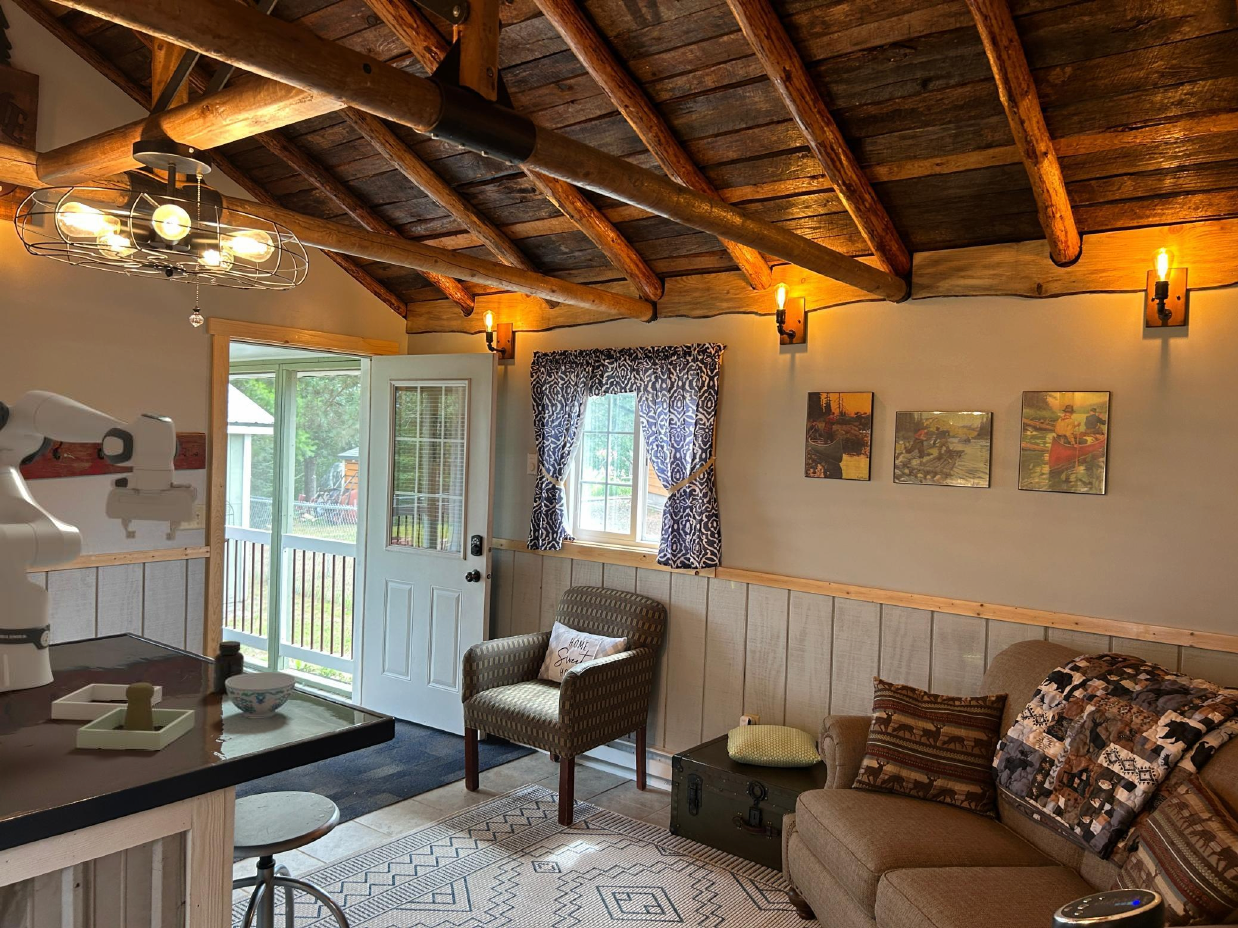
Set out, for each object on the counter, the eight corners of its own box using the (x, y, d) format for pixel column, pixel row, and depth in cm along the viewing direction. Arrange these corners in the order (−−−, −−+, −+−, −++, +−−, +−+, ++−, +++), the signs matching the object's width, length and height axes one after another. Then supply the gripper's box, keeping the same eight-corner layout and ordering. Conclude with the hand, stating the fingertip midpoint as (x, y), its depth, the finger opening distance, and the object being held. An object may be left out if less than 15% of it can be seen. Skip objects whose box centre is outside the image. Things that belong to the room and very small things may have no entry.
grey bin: (51, 718, 194) (52, 702, 194) (91, 698, 210) (92, 683, 210) (127, 721, 195) (128, 704, 195) (161, 701, 211) (162, 686, 211)
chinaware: (272, 701, 216) (274, 669, 216) (307, 714, 206) (309, 681, 206) (210, 712, 204) (212, 678, 204) (244, 727, 195) (246, 692, 195)
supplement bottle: (205, 692, 221) (208, 643, 221) (227, 686, 227) (229, 638, 227) (227, 696, 218) (229, 646, 218) (248, 690, 225) (250, 641, 224)
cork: (140, 742, 182) (143, 688, 182) (114, 739, 183) (116, 685, 183) (161, 734, 188) (163, 681, 188) (135, 731, 189) (137, 678, 189)
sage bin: (76, 747, 177) (77, 729, 177) (117, 723, 193) (118, 707, 193) (159, 750, 178) (160, 732, 178) (194, 726, 194) (194, 710, 194)
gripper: (203, 483, 220) (200, 540, 220) (117, 479, 219) (114, 536, 219) (191, 484, 214) (189, 542, 214) (103, 480, 213) (100, 538, 213)
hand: (150, 539), depth 217 cm, fingers open, 8 cm apart
